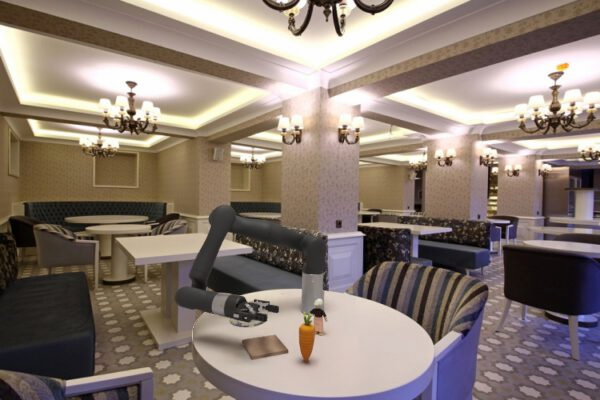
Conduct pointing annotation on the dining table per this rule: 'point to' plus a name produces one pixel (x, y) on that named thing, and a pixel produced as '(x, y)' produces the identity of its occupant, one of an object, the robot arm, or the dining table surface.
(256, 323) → the decorative bowl
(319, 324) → the grandmother figurine
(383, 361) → the dining table surface
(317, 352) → the dining table surface
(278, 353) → the walnut board
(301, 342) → the carrot
